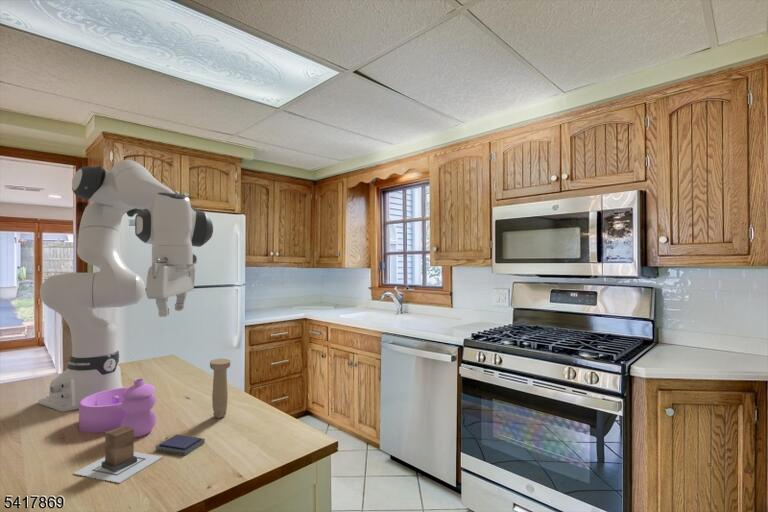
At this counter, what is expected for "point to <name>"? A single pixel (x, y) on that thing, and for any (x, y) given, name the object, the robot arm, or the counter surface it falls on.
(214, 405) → the handle
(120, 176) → the robot arm
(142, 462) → the card
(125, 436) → the stamp
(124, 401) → the container set
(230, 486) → the counter surface
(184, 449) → the ink tin
